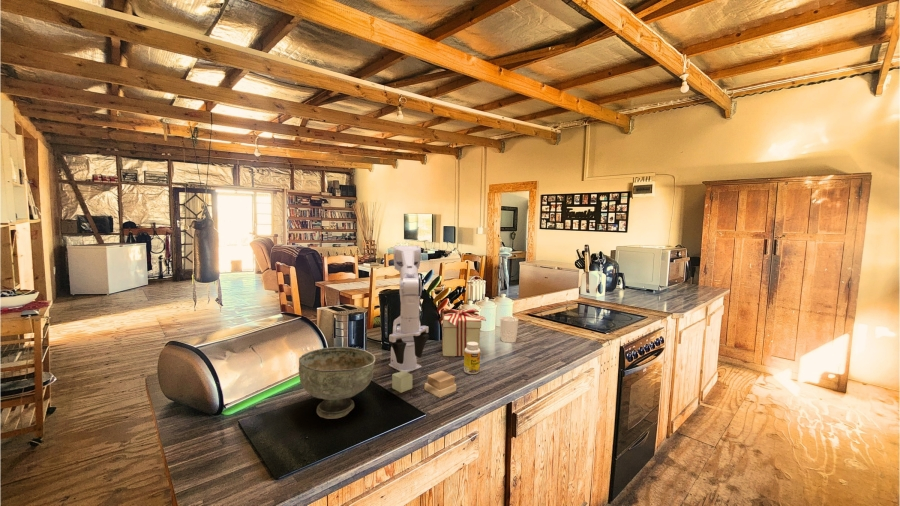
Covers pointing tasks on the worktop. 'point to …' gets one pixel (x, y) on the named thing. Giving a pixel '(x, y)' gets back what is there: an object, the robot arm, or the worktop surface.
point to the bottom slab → (439, 392)
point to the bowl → (336, 377)
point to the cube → (402, 381)
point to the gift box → (460, 330)
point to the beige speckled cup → (508, 329)
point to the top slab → (441, 380)
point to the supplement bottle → (472, 358)
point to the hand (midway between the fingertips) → (409, 359)
